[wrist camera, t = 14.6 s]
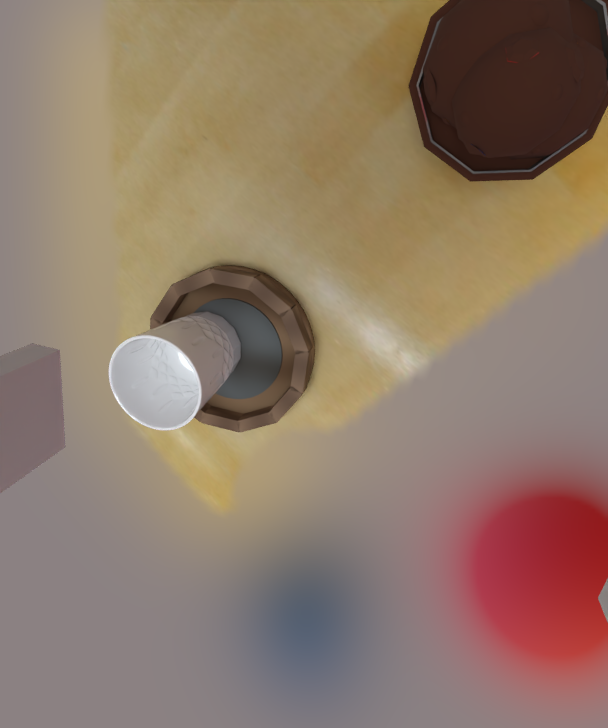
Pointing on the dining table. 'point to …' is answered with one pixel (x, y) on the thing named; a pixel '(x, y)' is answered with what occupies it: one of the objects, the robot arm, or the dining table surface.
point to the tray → (249, 343)
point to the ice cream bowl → (511, 84)
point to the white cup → (174, 369)
